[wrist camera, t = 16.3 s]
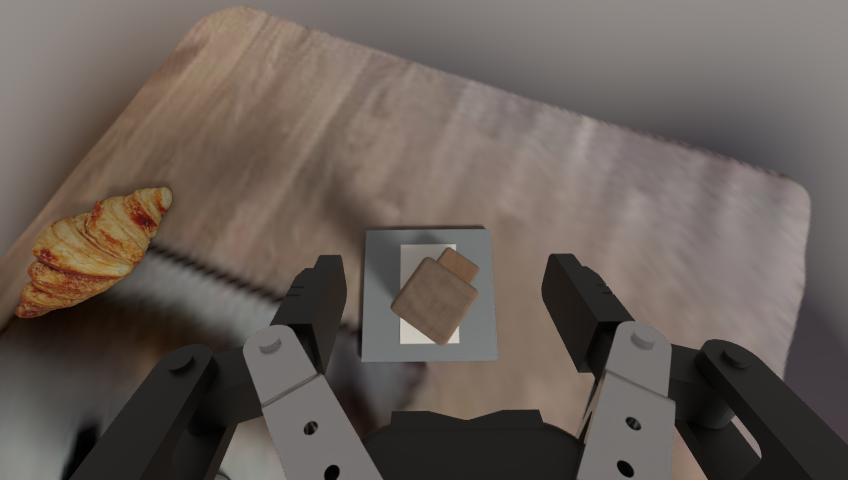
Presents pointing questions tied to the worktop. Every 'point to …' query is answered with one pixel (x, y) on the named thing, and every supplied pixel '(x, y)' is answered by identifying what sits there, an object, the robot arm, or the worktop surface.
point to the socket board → (387, 274)
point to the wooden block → (438, 295)
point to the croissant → (91, 251)
